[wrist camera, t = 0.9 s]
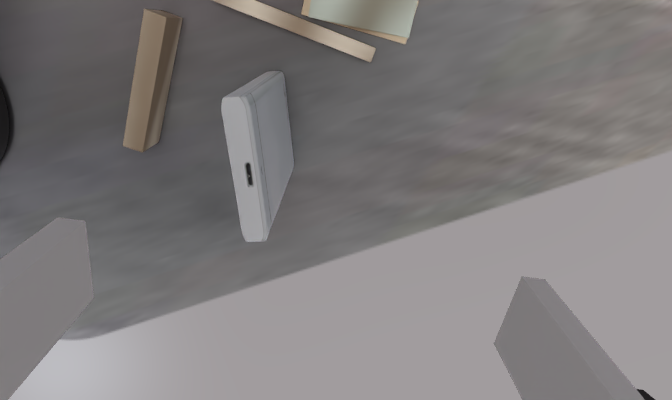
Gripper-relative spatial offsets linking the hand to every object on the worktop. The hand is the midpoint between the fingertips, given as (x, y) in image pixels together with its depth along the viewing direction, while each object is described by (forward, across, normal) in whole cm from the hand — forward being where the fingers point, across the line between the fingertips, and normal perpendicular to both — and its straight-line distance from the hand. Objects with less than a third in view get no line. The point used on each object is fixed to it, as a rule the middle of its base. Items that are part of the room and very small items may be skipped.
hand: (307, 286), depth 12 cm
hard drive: (+22, -3, -1) cm, 23 cm away
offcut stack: (+23, +2, +9) cm, 24 cm away
